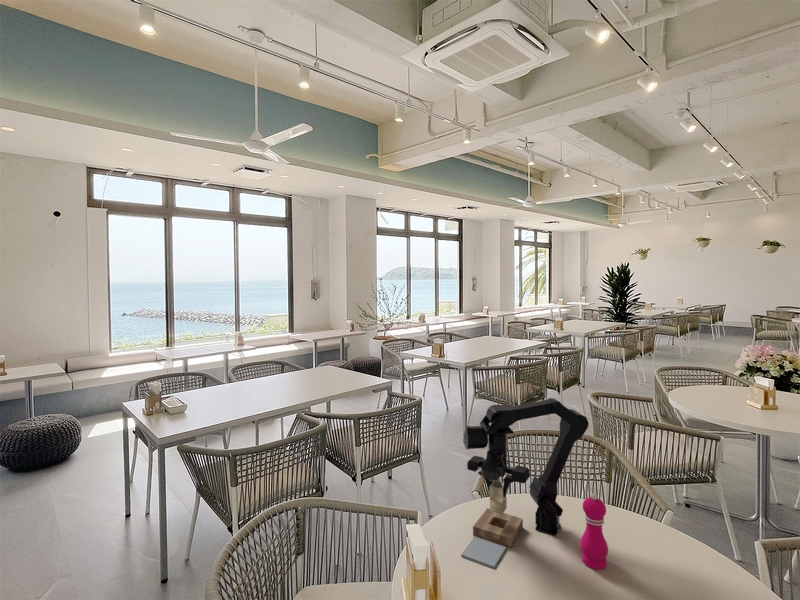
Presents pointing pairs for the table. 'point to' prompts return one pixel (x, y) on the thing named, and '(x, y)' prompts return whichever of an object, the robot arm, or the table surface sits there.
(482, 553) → the mat
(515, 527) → the socket block
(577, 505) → the table surface
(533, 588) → the table surface
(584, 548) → the pepper mill
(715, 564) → the table surface
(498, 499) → the plug
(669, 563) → the table surface
